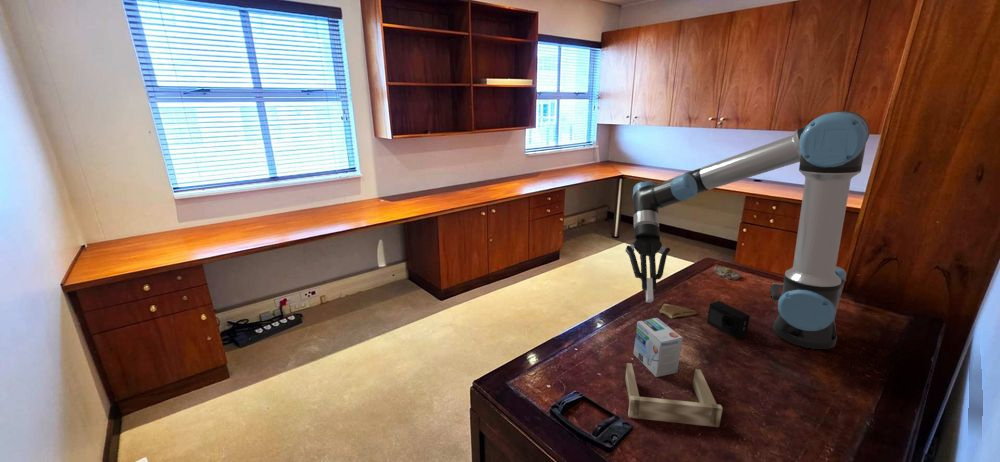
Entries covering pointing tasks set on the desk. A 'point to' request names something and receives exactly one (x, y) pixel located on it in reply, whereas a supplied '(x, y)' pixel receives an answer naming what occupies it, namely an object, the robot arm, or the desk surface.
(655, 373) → the light bulb box
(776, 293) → the usb drive
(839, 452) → the desk surface
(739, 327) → the digital camera
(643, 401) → the rack bay
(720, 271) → the mineral rock
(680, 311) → the shard
